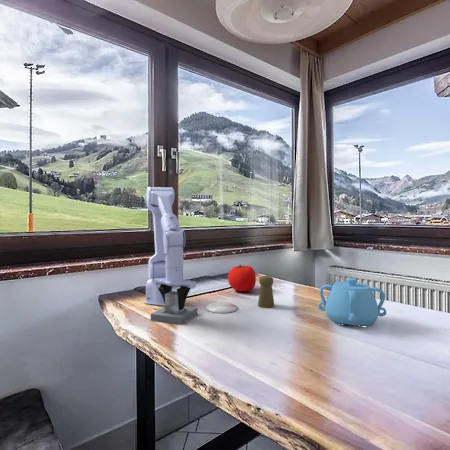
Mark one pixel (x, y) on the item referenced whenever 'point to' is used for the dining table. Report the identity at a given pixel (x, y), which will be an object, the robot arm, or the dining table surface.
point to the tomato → (242, 278)
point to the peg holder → (174, 315)
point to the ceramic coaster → (221, 307)
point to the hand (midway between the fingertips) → (174, 308)
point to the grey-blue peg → (172, 303)
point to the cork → (266, 292)
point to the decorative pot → (352, 303)
